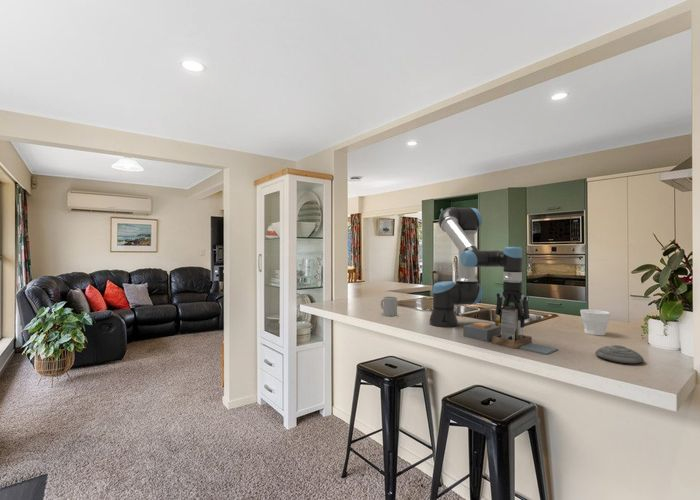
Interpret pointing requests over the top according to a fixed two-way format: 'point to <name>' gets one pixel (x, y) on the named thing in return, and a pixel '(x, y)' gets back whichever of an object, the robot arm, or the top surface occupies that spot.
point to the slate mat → (538, 348)
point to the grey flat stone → (619, 354)
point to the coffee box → (510, 323)
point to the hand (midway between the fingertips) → (511, 332)
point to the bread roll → (497, 321)
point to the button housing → (481, 332)
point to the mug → (389, 306)
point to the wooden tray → (511, 341)
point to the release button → (482, 325)
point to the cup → (595, 321)
